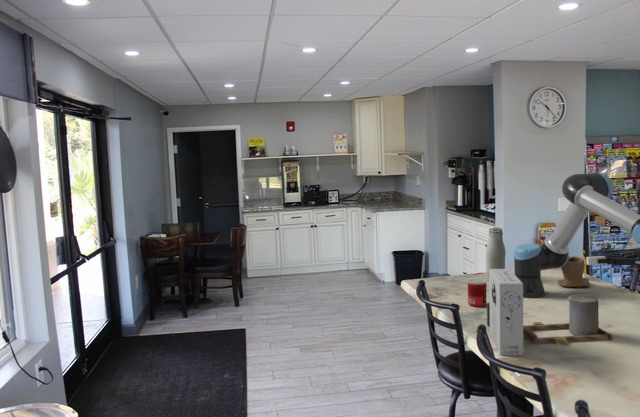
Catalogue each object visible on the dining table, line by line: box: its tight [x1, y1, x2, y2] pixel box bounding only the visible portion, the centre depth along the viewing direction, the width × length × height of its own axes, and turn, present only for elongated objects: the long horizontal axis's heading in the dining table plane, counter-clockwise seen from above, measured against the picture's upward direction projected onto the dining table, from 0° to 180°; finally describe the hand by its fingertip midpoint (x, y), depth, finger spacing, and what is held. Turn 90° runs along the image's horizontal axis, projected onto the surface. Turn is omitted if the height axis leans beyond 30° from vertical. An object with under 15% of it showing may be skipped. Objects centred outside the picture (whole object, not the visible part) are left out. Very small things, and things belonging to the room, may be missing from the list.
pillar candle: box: [568, 293, 600, 336], centre depth 185 cm, size 10×10×15 cm
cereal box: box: [488, 268, 524, 357], centre depth 178 cm, size 22×8×25 cm, turn 170°
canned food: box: [467, 278, 487, 308], centre depth 224 cm, size 8×8×11 cm
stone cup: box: [557, 255, 591, 288], centre depth 247 cm, size 15×12×15 cm
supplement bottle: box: [486, 295, 490, 328], centre depth 197 cm, size 7×7×12 cm
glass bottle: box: [485, 227, 506, 278], centre depth 268 cm, size 10×10×28 cm
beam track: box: [523, 321, 613, 346], centre depth 185 cm, size 29×19×3 cm, turn 92°
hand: (587, 260), depth 184 cm, fingers closed
